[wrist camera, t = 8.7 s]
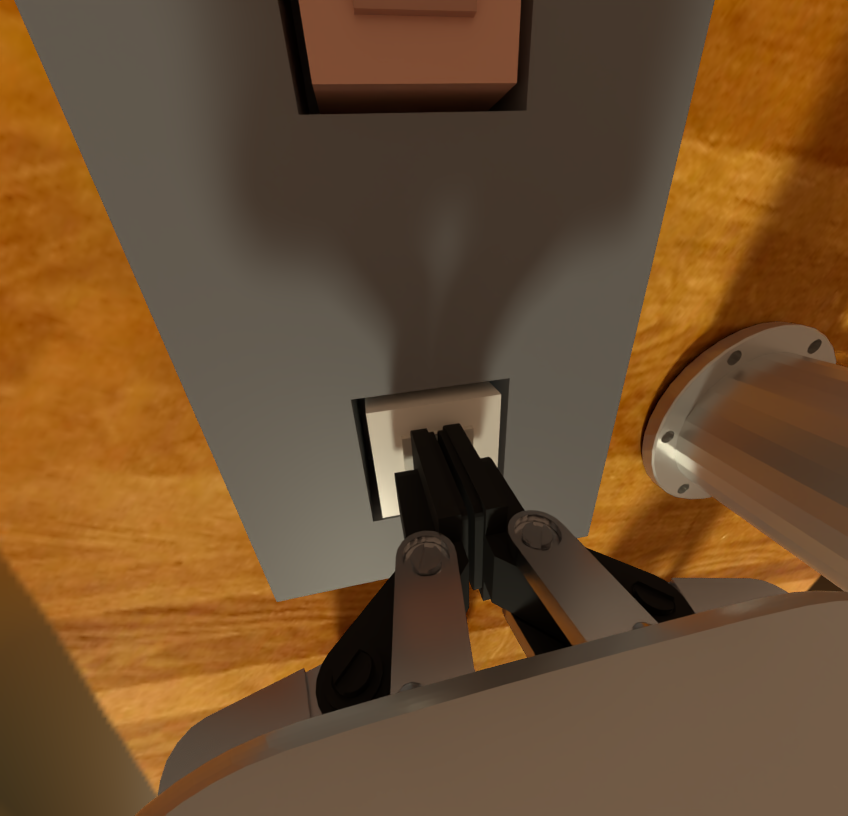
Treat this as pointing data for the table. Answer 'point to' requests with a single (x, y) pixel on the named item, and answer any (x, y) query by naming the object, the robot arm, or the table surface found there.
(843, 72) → the table surface
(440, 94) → the key terracotta
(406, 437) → the key ivory
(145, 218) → the key console
